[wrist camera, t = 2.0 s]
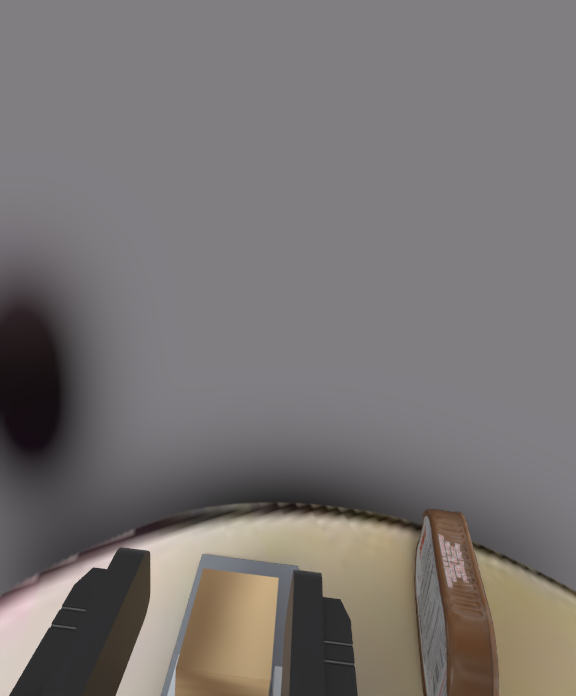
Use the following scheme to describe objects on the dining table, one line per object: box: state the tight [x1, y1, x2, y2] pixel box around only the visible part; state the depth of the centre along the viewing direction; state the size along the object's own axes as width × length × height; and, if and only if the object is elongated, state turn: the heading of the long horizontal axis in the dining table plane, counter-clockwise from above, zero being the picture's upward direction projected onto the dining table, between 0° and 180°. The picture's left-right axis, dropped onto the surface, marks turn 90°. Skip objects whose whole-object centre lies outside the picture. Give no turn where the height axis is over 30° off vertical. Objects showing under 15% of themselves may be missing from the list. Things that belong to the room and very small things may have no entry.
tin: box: [415, 509, 499, 696], centre depth 30 cm, size 15×3×8 cm, turn 169°
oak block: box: [175, 568, 279, 696], centre depth 22 cm, size 4×5×10 cm
